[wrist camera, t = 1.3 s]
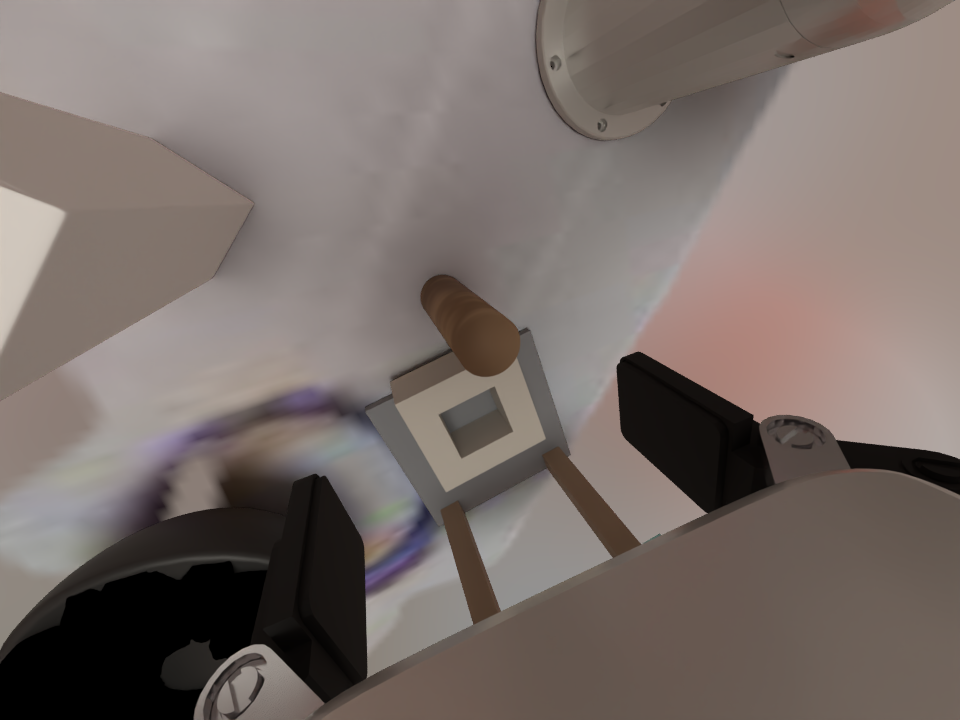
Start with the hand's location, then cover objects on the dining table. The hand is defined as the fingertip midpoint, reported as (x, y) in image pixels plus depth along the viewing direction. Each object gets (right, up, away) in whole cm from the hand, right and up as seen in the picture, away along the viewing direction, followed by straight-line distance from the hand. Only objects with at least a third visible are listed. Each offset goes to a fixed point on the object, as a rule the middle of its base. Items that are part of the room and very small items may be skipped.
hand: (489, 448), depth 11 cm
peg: (-3, +8, +20) cm, 21 cm away
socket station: (-1, -4, +26) cm, 26 cm away
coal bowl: (-22, -14, +23) cm, 35 cm away
